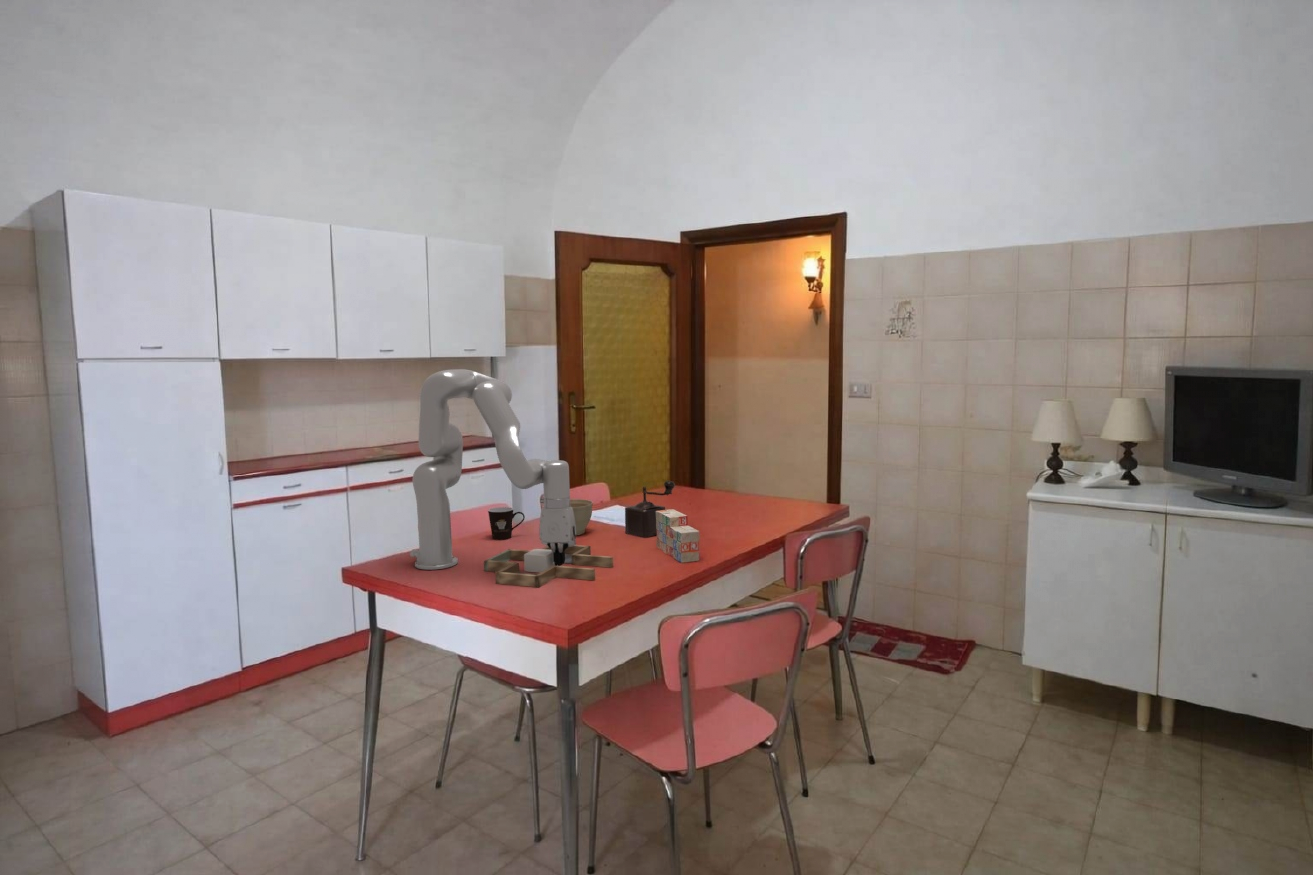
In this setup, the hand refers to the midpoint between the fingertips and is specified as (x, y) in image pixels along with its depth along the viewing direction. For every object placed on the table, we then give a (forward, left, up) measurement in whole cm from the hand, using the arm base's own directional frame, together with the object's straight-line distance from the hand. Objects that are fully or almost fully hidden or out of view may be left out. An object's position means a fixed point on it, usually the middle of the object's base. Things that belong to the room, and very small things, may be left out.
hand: (559, 564), depth 227 cm
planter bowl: (-17, +43, -2) cm, 46 cm away
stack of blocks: (+28, +26, -2) cm, 38 cm away
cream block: (-6, -1, -2) cm, 6 cm away
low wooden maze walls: (-4, 0, -2) cm, 4 cm away
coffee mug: (-36, +31, -2) cm, 47 cm away
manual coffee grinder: (+10, +52, -2) cm, 53 cm away
